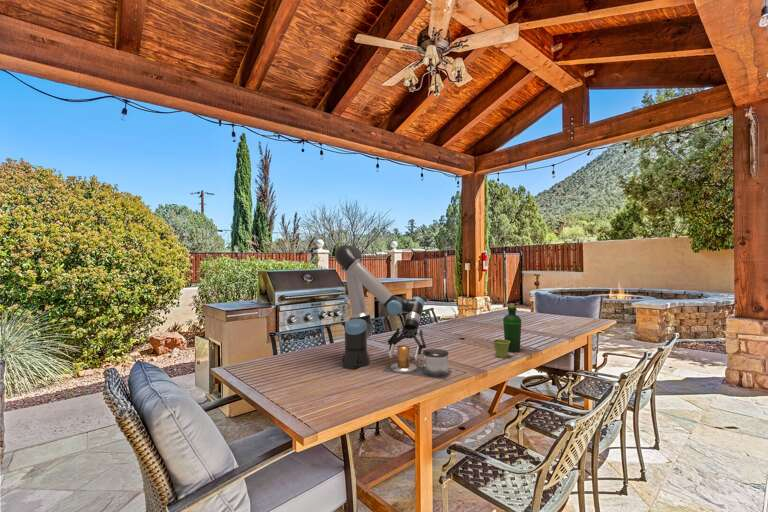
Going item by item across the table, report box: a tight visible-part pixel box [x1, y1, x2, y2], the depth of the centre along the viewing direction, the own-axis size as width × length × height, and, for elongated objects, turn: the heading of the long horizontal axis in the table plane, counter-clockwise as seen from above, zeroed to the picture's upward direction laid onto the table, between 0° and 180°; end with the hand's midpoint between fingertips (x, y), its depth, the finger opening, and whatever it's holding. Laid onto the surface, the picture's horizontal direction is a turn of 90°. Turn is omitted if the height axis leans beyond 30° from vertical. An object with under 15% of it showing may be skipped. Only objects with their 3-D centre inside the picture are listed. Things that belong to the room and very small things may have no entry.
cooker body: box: [422, 348, 449, 378], centre depth 168 cm, size 12×12×10 cm
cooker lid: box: [391, 344, 418, 374], centre depth 174 cm, size 13×13×11 cm
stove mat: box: [381, 362, 453, 381], centre depth 172 cm, size 32×14×1 cm, turn 67°
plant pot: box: [492, 338, 510, 359], centre depth 199 cm, size 9×9×9 cm
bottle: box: [502, 303, 522, 353], centre depth 210 cm, size 11×11×28 cm
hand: (402, 358), depth 173 cm, fingers open, 13 cm apart
